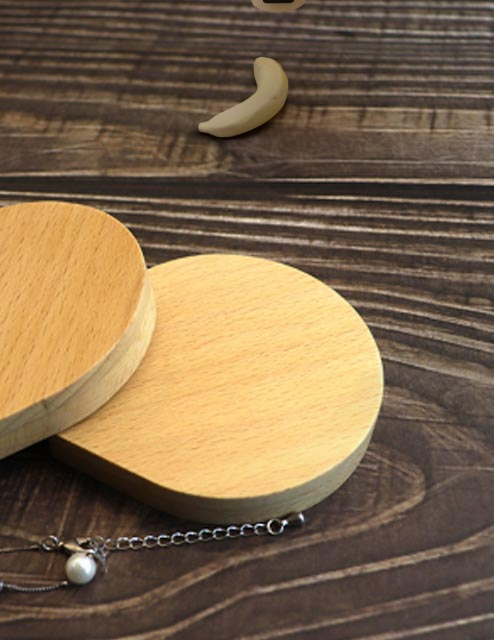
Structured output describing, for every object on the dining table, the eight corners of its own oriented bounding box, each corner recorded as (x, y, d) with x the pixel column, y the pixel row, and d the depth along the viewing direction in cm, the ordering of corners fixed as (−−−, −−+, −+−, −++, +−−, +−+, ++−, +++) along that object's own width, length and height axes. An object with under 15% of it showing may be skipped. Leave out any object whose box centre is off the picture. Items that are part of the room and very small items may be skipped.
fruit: (309, 85, 123) (311, 60, 120) (252, 148, 114) (252, 122, 112) (256, 73, 126) (256, 48, 123) (196, 134, 117) (195, 108, 115)
